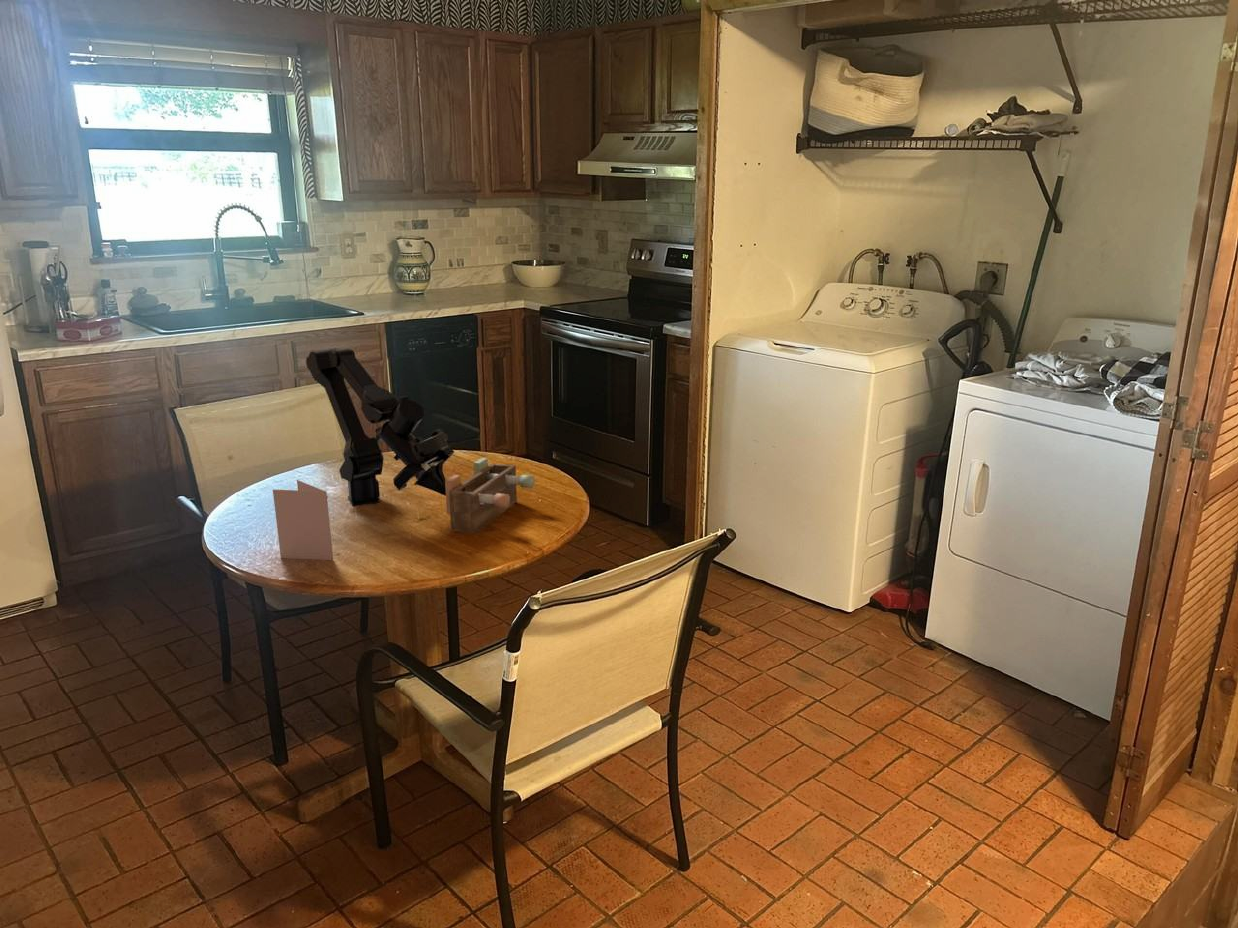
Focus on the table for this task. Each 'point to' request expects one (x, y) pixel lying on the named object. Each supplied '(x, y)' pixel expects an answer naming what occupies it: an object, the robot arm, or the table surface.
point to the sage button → (523, 480)
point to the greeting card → (303, 523)
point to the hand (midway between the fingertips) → (449, 494)
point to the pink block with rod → (497, 499)
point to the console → (466, 504)
